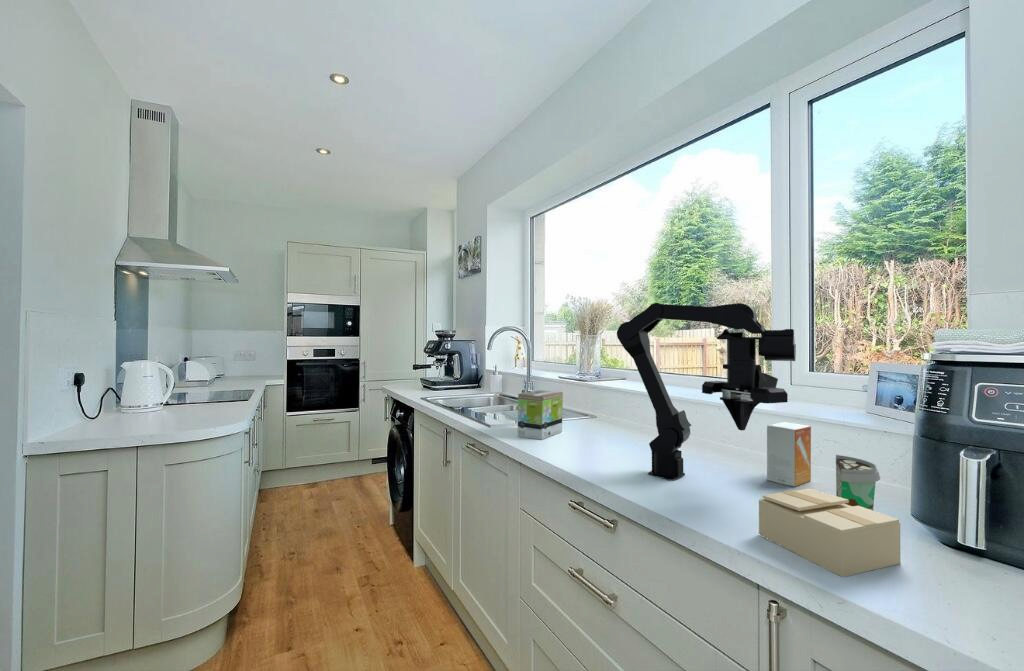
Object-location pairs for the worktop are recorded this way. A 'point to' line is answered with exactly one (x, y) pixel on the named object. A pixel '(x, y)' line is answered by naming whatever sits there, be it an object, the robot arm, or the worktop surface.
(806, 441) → the small box
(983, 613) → the worktop surface
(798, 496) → the lid flap
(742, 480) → the worktop surface
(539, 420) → the tea box
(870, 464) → the food container
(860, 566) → the carton
